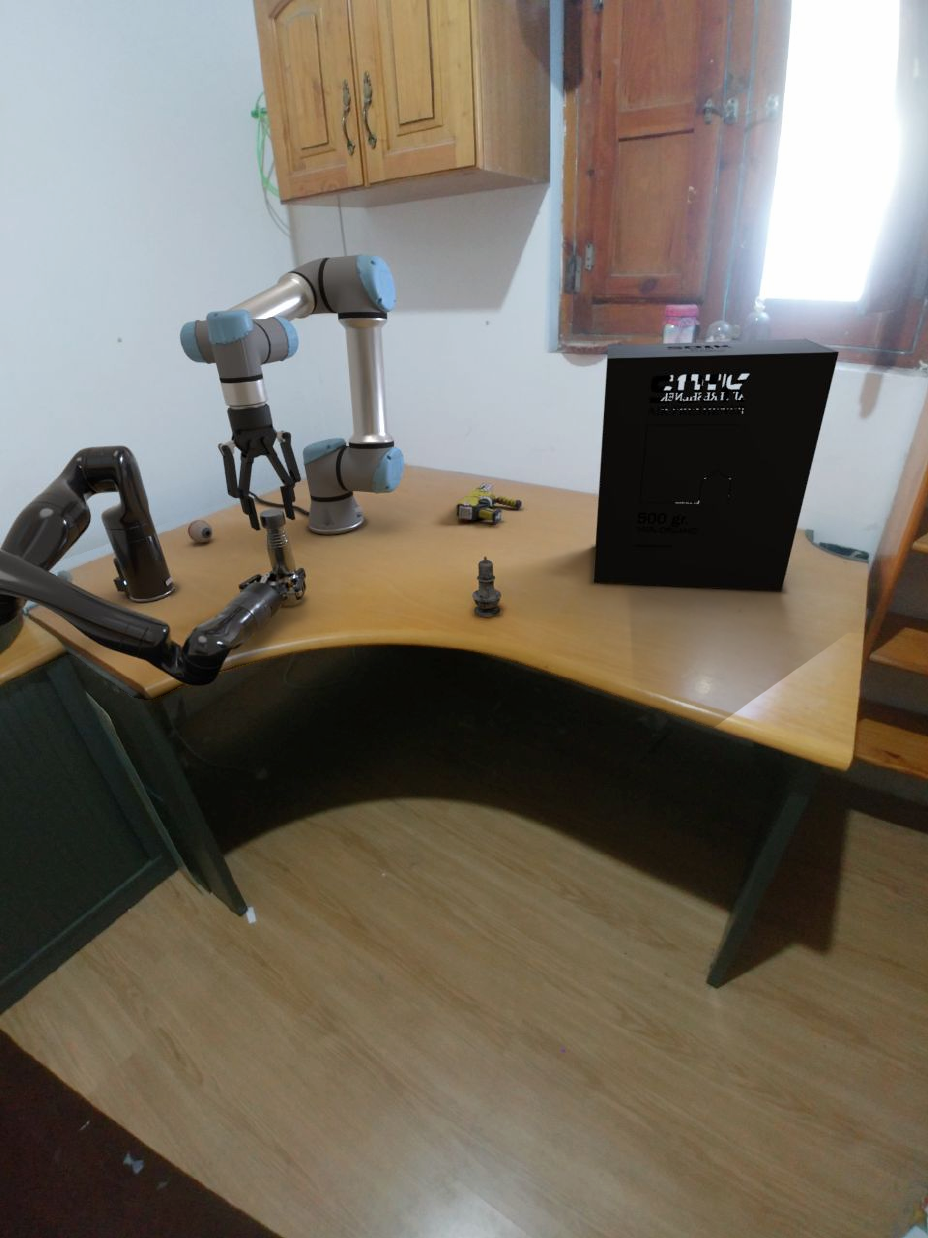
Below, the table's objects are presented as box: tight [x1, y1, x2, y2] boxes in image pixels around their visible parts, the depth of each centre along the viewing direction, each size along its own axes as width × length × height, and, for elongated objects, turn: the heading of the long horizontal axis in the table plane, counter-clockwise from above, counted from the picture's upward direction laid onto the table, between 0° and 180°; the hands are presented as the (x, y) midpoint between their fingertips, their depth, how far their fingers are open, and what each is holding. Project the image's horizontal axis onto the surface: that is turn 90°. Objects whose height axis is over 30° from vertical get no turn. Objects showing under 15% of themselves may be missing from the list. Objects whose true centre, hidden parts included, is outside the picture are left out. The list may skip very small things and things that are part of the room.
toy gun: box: [455, 482, 523, 525], centre depth 172 cm, size 5×24×15 cm
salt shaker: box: [471, 555, 502, 618], centre depth 119 cm, size 6×6×12 cm
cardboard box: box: [593, 338, 840, 592], centre depth 124 cm, size 38×20×45 cm, turn 78°
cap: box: [258, 508, 287, 530], centre depth 121 cm, size 5×5×3 cm
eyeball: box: [187, 519, 213, 544], centre depth 162 cm, size 6×6×6 cm
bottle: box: [265, 526, 303, 608], centre depth 126 cm, size 5×5×19 cm
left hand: (291, 571), depth 130 cm, fingers closed on bottle, 4 cm apart
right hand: (273, 523), depth 122 cm, fingers open, 7 cm apart
